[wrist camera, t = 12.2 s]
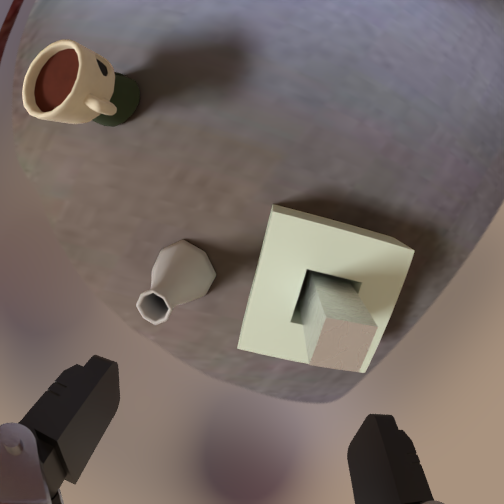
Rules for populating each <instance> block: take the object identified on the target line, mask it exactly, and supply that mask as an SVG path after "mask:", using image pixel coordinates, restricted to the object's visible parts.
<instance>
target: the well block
mask: <svg viewBox="0 0 504 504" xmlns="http://www.w3.org/2000/svg"><path fill="white" fill-rule="evenodd" d="M414 252H415V250H413V249H411V248H410V247H408V246H407V245H405V244H403V243H402V242H400V241H398V240H397V239H395V238H394V237H391V236H387V235H384V234H381V233H377V232H374V231H370V230H367V229H364V228H360V227H357V226H353V225H350V224H346V223H342V222H339V221H335V220H332V219H328V218H324V217H321V216H317V215H313V214H309V213H306V212H302V211H298V210H294V209H290V208H286V207H283V206H279V205H275V204H273V205H272V209H271V213H270V217H269V221H268V225H267V229H266V233H265V237H264V241H263V245H262V249H261V253H260V256H259V260H258V264H257V268H256V272H255V276H254V280H253V284H252V288H251V292H250V296H249V299H248V303H247V307H246V311H245V315H244V319H243V323H242V328H241V333H240V338H239V343H238V347H237V349H242V350H246V351H250V352H255V353H259V354H263V355H268V356H273V357H277V358H282V359H287V360H292V361H297V362H302V363H307V364H309V361H308V355H307V349H306V343H305V336H304V330H303V325H302V319H301V313H300V307H299V301H298V296H299V293H300V290H301V287H302V283H303V280H304V277H305V274H306V270H307V269H309V270H313V271H317V272H321V273H325V274H329V275H333V276H337V277H342V278H346V279H348V280H349V281H350V283H351V284H352V286H353V287H354V289H355V291H356V292H357V294H358V295H359V297H360V298H361V300H362V302H363V303H364V305H365V306H366V308H367V310H368V311H369V313H370V314H371V316H372V318H373V319H374V321H375V323H376V324H377V326H378V328H377V331H376V333H375V336H374V338H373V341H372V343H371V345H370V348H369V350H368V352H367V355H366V357H365V359H364V361H363V364H362V366H361V368H360V370H359V372H361V373H365V372H366V370H367V368H368V366H369V363H370V361H371V359H372V357H373V355H374V353H375V351H376V349H377V346H378V344H379V342H380V340H381V337H382V335H383V333H384V331H385V328H386V326H387V324H388V321H389V319H390V317H391V314H392V312H393V309H394V307H395V304H396V302H397V299H398V297H399V294H400V291H401V289H402V286H403V283H404V281H405V278H406V275H407V272H408V269H409V267H410V264H411V261H412V258H413V255H414Z"/></svg>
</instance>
